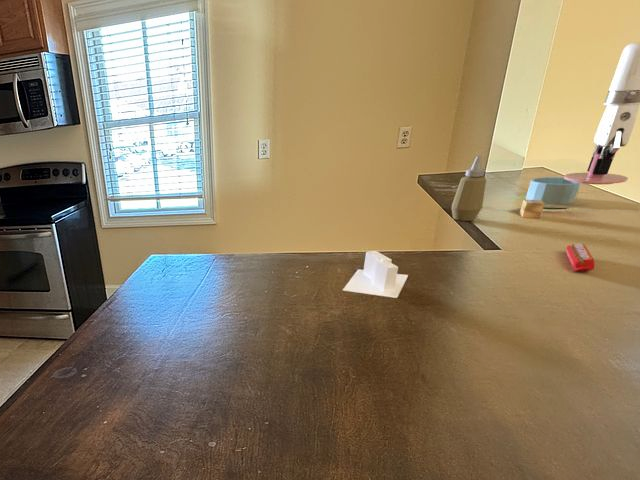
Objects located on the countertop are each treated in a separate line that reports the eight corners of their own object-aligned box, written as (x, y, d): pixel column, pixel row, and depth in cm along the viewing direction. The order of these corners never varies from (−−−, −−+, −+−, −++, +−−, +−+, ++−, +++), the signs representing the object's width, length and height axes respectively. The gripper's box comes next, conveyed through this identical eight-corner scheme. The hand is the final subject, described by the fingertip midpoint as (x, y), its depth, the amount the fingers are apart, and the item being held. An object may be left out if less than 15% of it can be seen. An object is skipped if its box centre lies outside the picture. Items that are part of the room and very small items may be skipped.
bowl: (566, 201, 158) (574, 177, 154) (577, 209, 148) (587, 184, 144) (520, 200, 162) (527, 177, 158) (528, 208, 152) (536, 184, 149)
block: (536, 214, 146) (541, 199, 144) (539, 218, 143) (544, 203, 141) (519, 214, 148) (523, 199, 146) (522, 217, 144) (526, 202, 142)
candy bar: (562, 252, 117) (567, 240, 115) (581, 253, 115) (586, 241, 113) (572, 273, 105) (577, 260, 103) (593, 275, 103) (598, 262, 102)
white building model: (357, 269, 116) (360, 246, 113) (408, 274, 110) (413, 250, 108) (342, 290, 105) (345, 265, 102) (398, 298, 100) (403, 272, 97)
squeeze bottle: (443, 216, 151) (457, 155, 142) (470, 215, 151) (485, 153, 142) (456, 223, 144) (472, 159, 135) (484, 221, 144) (501, 157, 135)
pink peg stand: (615, 177, 137) (626, 149, 133) (634, 186, 126) (646, 156, 123) (557, 176, 142) (565, 150, 138) (570, 185, 131) (580, 157, 128)
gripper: (657, 99, 116) (625, 178, 125) (630, 96, 129) (603, 168, 138) (618, 100, 119) (589, 178, 128) (595, 97, 132) (571, 168, 141)
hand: (597, 172), depth 133 cm, fingers closed on pink peg stand, 3 cm apart
